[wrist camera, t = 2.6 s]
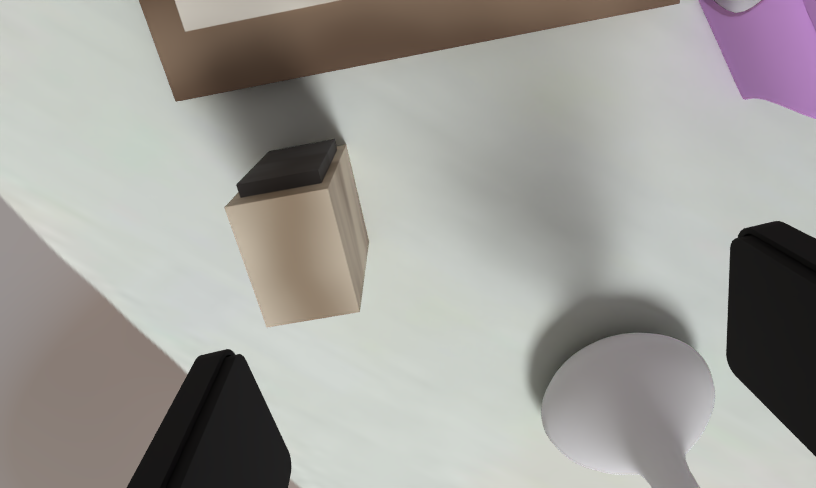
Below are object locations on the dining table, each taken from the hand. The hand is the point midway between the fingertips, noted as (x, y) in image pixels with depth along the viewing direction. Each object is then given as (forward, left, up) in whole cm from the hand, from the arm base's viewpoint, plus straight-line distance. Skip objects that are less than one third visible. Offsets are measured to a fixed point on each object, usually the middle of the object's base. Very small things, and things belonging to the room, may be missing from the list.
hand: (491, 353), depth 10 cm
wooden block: (-3, +7, -20) cm, 21 cm away
